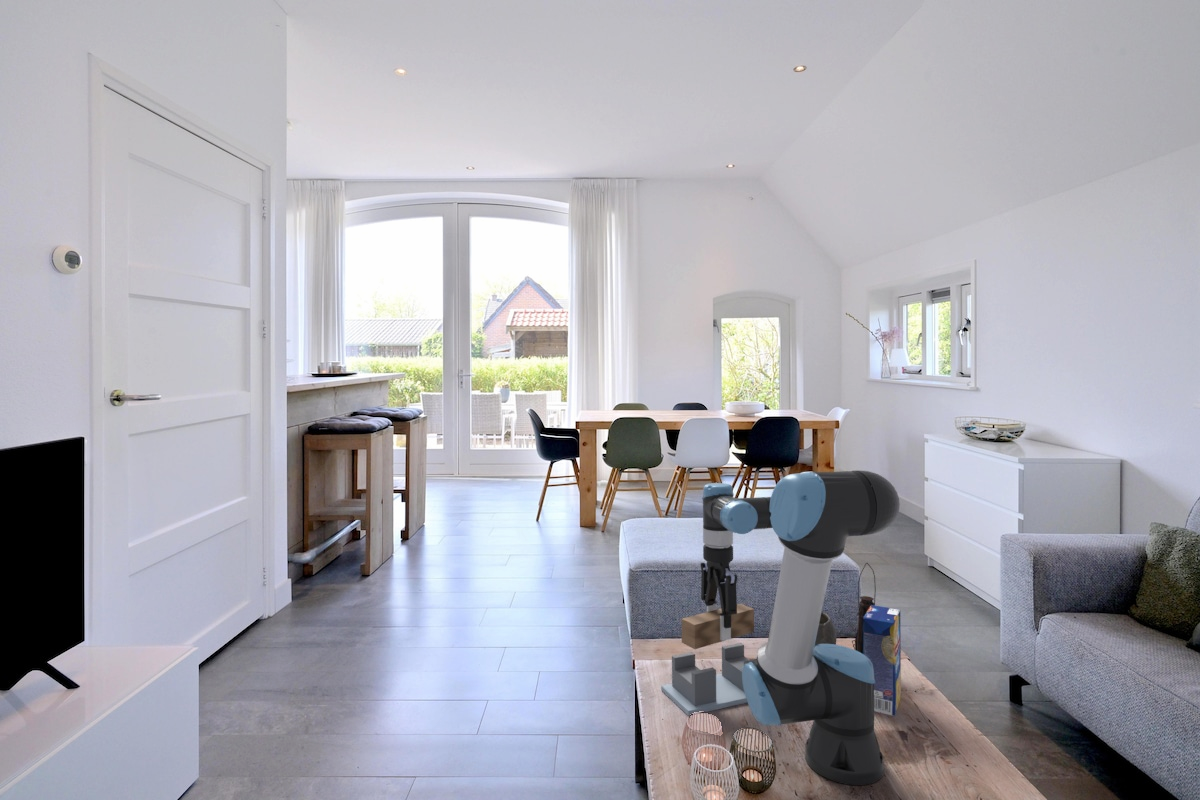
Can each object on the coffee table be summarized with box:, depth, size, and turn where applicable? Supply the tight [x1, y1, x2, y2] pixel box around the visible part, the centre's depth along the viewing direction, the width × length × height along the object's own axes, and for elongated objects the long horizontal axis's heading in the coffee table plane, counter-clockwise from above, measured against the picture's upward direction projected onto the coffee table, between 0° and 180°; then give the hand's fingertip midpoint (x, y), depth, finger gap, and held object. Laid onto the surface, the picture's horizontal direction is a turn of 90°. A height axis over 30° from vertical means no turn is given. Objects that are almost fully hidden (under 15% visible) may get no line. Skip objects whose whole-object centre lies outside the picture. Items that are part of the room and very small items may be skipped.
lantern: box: [851, 562, 877, 654], centre depth 171 cm, size 8×8×30 cm
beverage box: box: [863, 604, 902, 717], centre depth 155 cm, size 7×11×22 cm, turn 148°
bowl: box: [812, 611, 837, 656], centre depth 181 cm, size 18×18×13 cm
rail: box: [681, 603, 755, 650], centre depth 161 cm, size 20×5×6 cm, turn 122°
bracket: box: [660, 642, 757, 717], centre depth 161 cm, size 14×26×9 cm, turn 112°
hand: (718, 634), depth 161 cm, fingers closed on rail, 6 cm apart
